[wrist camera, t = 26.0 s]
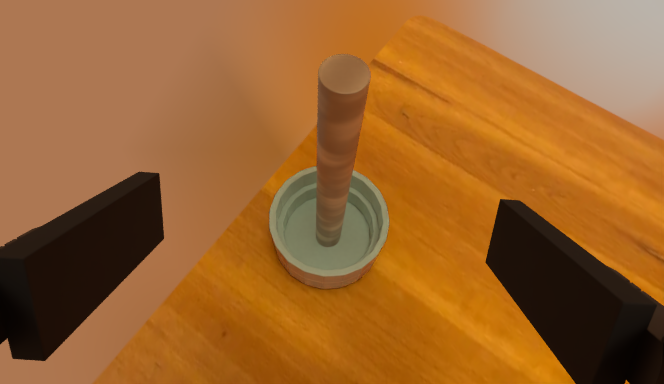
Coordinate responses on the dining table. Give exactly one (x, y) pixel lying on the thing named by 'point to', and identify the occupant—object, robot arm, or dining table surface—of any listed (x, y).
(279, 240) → the bowl
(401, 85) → the dining table surface
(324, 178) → the stick
